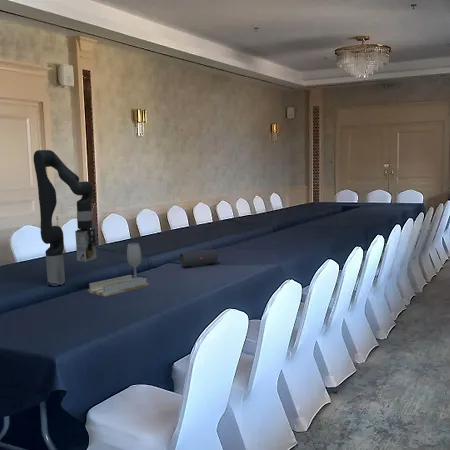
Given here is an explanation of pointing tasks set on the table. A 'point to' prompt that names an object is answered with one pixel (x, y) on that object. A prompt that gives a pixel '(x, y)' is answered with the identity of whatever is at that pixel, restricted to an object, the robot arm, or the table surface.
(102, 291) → the track base
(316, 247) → the table surface
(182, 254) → the bluetooth speaker
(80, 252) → the coffee box
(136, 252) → the wineglass
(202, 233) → the table surface
